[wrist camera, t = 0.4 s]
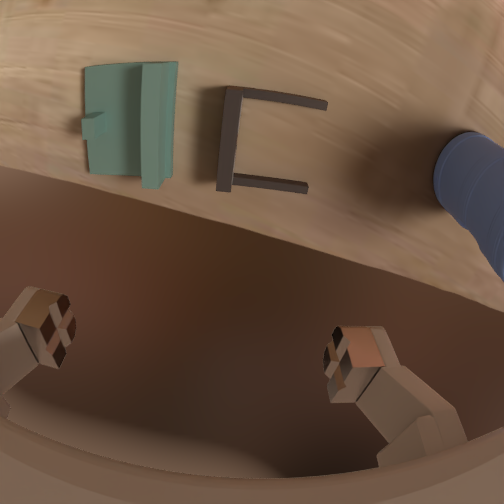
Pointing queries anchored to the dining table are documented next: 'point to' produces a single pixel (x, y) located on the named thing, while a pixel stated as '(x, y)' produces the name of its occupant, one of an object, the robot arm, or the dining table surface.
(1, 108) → the dining table surface
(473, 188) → the water jug
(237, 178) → the glasses frame
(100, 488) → the robot arm
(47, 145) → the dining table surface
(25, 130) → the dining table surface
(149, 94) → the display stand
